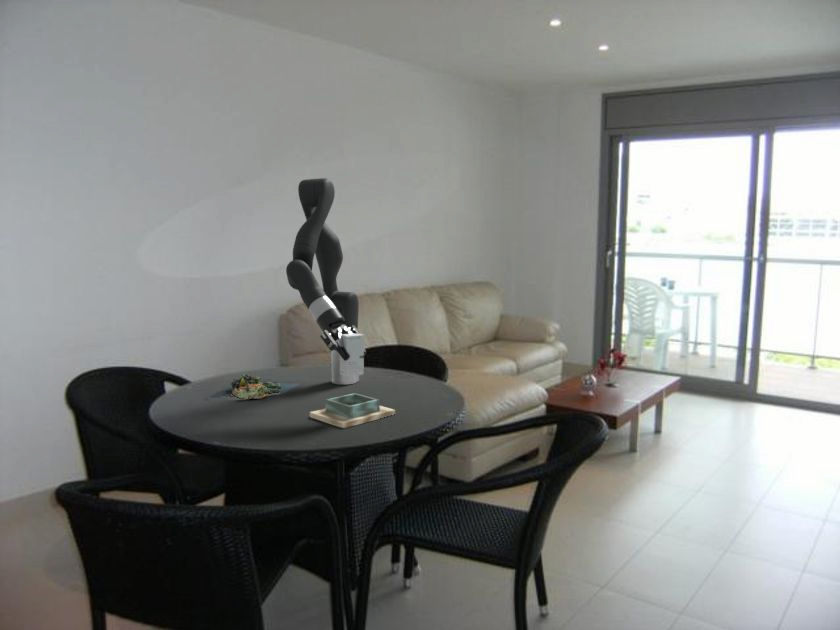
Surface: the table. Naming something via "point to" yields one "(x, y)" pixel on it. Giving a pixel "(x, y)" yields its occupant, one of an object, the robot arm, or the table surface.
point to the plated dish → (253, 388)
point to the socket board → (351, 410)
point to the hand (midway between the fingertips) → (356, 356)
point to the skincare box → (353, 355)
